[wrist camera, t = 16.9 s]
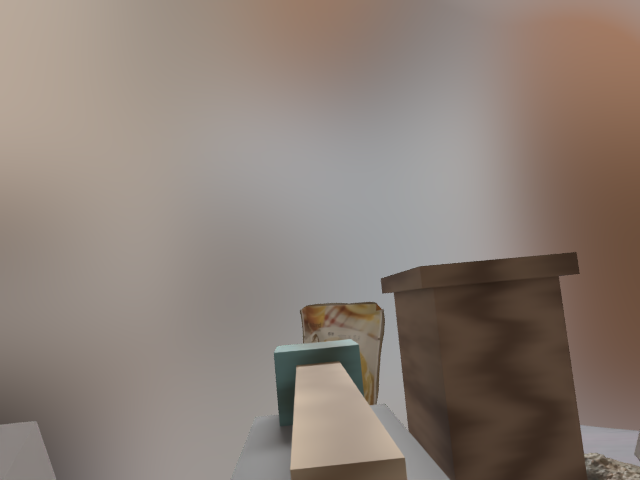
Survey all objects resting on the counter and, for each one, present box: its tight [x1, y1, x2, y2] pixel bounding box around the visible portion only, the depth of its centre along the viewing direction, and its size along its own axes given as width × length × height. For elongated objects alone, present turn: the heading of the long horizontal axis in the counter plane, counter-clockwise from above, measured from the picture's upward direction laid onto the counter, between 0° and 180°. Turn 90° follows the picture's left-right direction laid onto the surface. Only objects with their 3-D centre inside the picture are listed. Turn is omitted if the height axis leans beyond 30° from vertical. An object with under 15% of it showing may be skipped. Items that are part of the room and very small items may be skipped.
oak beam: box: [274, 339, 407, 480], centre depth 29 cm, size 6×30×5 cm, turn 2°
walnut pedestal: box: [381, 252, 588, 480], centre depth 44 cm, size 11×18×30 cm, turn 2°
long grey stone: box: [584, 453, 640, 480], centre depth 71 cm, size 35×5×10 cm
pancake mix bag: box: [300, 302, 385, 405], centre depth 73 cm, size 7×19×28 cm, turn 27°
